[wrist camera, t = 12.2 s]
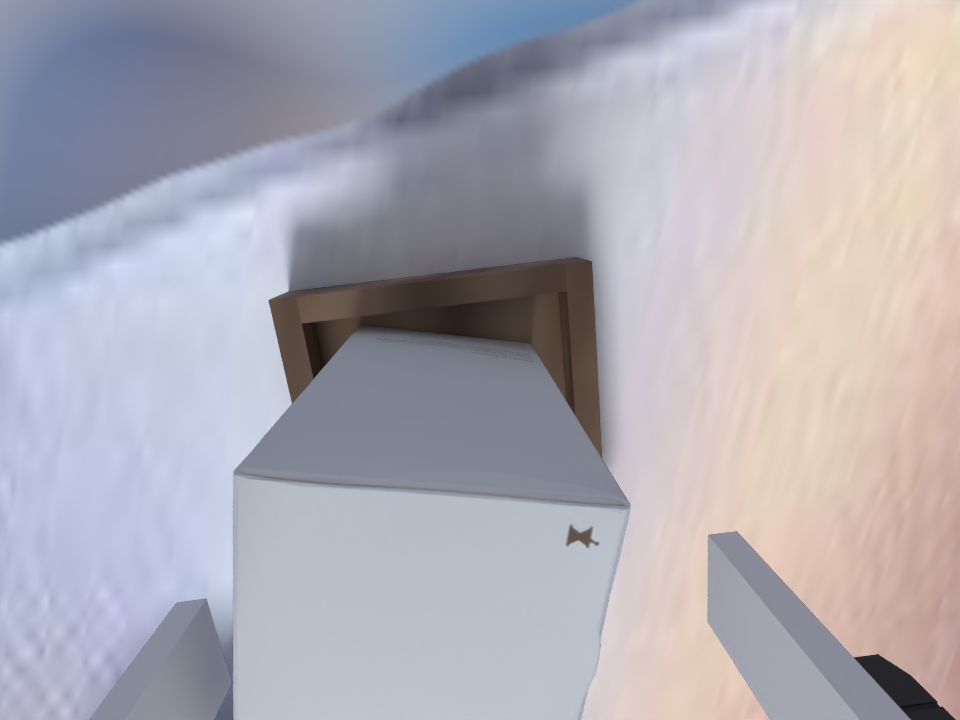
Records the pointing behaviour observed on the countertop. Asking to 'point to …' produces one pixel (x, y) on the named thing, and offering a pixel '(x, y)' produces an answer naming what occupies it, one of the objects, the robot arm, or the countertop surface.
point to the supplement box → (423, 540)
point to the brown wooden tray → (458, 321)
